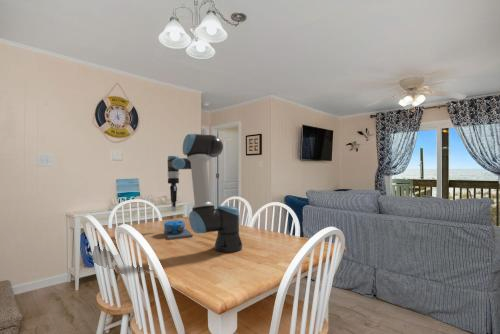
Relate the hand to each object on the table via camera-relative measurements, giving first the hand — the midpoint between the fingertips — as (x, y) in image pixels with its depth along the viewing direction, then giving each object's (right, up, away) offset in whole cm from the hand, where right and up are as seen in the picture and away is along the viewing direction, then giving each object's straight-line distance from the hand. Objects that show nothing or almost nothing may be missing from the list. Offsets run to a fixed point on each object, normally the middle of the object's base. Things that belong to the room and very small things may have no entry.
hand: (173, 211), depth 195 cm
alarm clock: (+2, -8, -5) cm, 10 cm away
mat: (+7, -14, -15) cm, 21 cm away
